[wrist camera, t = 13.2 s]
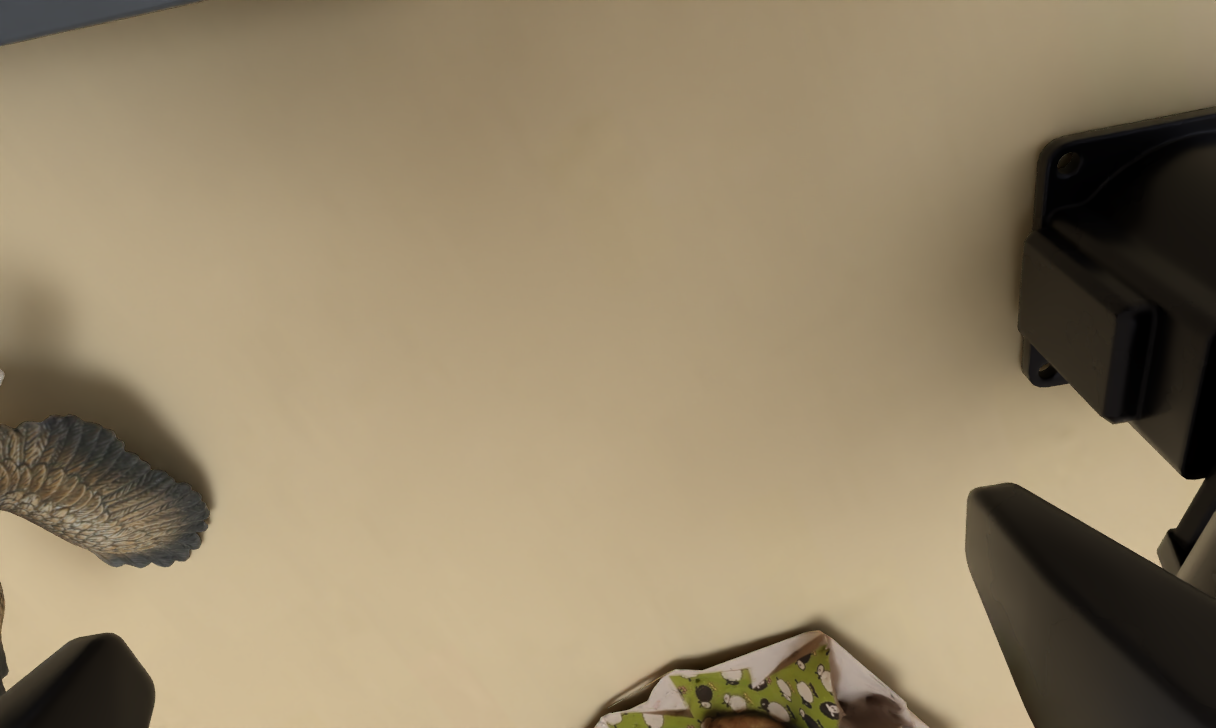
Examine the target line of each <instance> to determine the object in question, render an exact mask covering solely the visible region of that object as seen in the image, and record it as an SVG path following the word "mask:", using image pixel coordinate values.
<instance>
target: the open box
mask: <svg viewBox="0 0 1216 728" xmlns="http://www.w3.org/2000/svg"><path fill="white" fill-rule="evenodd" d="M202 1H207V0H0V46H4V45H9V44H13V43H18V42H22V41H27V40H31V39H36V38H40V37H45V36H49V35H54V34H58V33H63V32H67V31H72V30H76V29H81V28H85V27H90V26H94V25H99V24H103V23H108V22H112V21H117V20H121V19H126V18H130V17H135V16H139V15H144V14H148V13H153V12H157V11H162V10H166V9H171V8H175V7H180V6H184V5H189V4H193V3H198V2H202Z"/></svg>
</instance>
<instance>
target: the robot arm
mask: <svg viewBox="0 0 1216 728" xmlns="http://www.w3.org/2000/svg"><path fill="white" fill-rule="evenodd" d="M1070 152H1071V154H1072V157H1071V160H1070V162H1069V163H1068V164H1067V165H1066V166H1065V167H1063V168H1061V169H1058V167H1057V165H1058V163H1059V160H1060V159H1061V158H1062V157H1063V156H1064V155H1065V154H1068V153H1070ZM1018 330H1019V332H1020V333H1021V334H1022V335H1023V336H1024V340H1023V353H1022V366H1021V367H1022V372H1023V374H1024V375H1025V376H1026V377H1027V378H1028V379H1029V381H1030V382H1031V383H1032V384H1033V385H1035V386H1037V387H1051V386H1057V385H1063V384H1070V385H1071V386H1072V387H1073V388H1074V389H1075V390H1076V391H1077V392H1078V393H1079V394H1080V395H1081V396H1082V397H1083V398H1084V399H1085V400H1086V402H1087V403H1088V404H1089V405H1090V406H1091V407H1092V408H1093V409H1094V410H1095V411H1096V412H1097V413H1098V414H1099V415H1100V416H1101V417H1103V418H1104V419H1106V420H1107V421H1108V422H1110V423H1112V424H1118V423H1124V422H1128V423H1129V424H1130V425H1131V426H1132V427H1133V428H1134V429H1135V430H1136V431H1137V432H1138V433H1139V434H1140V435H1141V436H1142V437H1143V438H1144V439H1145V440H1146V441H1147V442H1148V443H1149V444H1150V445H1151V446H1152V447H1153V448H1154V449H1155V450H1156V451H1157V452H1158V453H1159V454H1160V455H1161V456H1162V457H1163V458H1164V459H1165V460H1166V461H1167V462H1168V463H1169V464H1170V465H1171V466H1172V467H1173V468H1174V469H1175V470H1176V471H1177V472H1178V473H1179V474H1180V475H1181V476H1183V477H1184V478H1185V479H1190V480H1196V479H1202V478H1205V480H1204V482H1203V483H1202V485H1201V487H1200V489H1199V490H1198V492H1197V494H1196V495H1195V497H1194V499H1193V501H1192V502H1191V504H1190V506H1189V507H1188V509H1187V511H1186V513H1185V514H1184V516H1183V518H1182V519H1181V521H1180V523H1179V525H1178V526H1177V528H1174V529H1170V530H1168V532H1167V533H1166V535H1165V537H1164V539H1163V540H1162V542H1161V544H1160V545H1159V547H1158V549H1157V554H1158V557H1159V560H1160V562H1161V565H1162V568H1161V567H1159V566H1157V565H1156V564H1154V563H1152V562H1151V561H1149V560H1147V559H1145V558H1144V557H1142V556H1140V555H1138V554H1137V553H1135V552H1133V551H1132V550H1130V549H1128V548H1126V547H1125V546H1123V545H1121V544H1119V543H1118V542H1116V541H1114V540H1113V539H1111V538H1109V537H1107V536H1106V535H1104V534H1102V533H1100V532H1099V531H1097V530H1095V529H1094V528H1092V527H1090V526H1088V525H1087V524H1085V523H1083V522H1081V521H1080V520H1078V519H1076V518H1075V517H1073V516H1071V515H1069V514H1068V513H1066V512H1064V511H1063V510H1061V509H1059V508H1057V507H1056V506H1054V505H1052V504H1050V503H1049V502H1047V501H1045V500H1044V499H1042V498H1040V497H1038V496H1037V495H1035V494H1033V493H1031V492H1030V491H1028V490H1026V489H1025V488H1023V487H1021V486H1019V485H1017V484H1014V483H1001V484H995V485H989V486H983V487H977V488H975V489H973V490H972V491H971V492H970V493H969V496H968V499H967V516H966V540H965V552H966V559H967V564H968V567H969V570H970V573H971V576H972V578H973V581H974V583H975V586H976V588H977V590H978V593H979V595H980V598H981V600H982V603H983V605H984V608H985V610H986V613H987V615H988V618H989V620H990V623H991V625H992V628H993V630H994V633H995V635H996V637H997V640H998V642H999V645H1000V647H1001V650H1002V652H1003V655H1004V657H1005V660H1006V662H1007V665H1008V667H1009V670H1010V672H1011V675H1012V677H1013V680H1014V682H1015V685H1016V687H1017V689H1018V692H1019V694H1020V696H1021V699H1022V701H1023V703H1024V706H1025V708H1026V710H1027V713H1028V715H1029V717H1030V719H1031V721H1032V723H1033V725H1034V727H1035V728H1216V107H1211V108H1206V109H1201V110H1196V111H1191V112H1186V113H1181V114H1176V115H1170V116H1165V117H1160V118H1155V119H1150V120H1145V121H1140V122H1134V123H1129V124H1124V125H1119V126H1114V127H1109V128H1104V129H1098V130H1093V131H1088V132H1083V133H1078V134H1073V135H1068V136H1062V137H1060V138H1057V139H1054V140H1053V141H1051V142H1050V143H1049V144H1047V145H1046V146H1045V147H1044V149H1043V150H1042V152H1041V153H1040V156H1039V159H1038V164H1037V176H1036V189H1035V201H1034V214H1033V227H1032V232H1031V233H1030V234H1029V235H1028V237H1027V238H1026V240H1025V241H1024V247H1023V260H1022V274H1021V287H1020V301H1019V314H1018ZM1047 363H1050V366H1049V367H1048V368H1046V369H1045V370H1043V371H1039V370H1040V368H1041V367H1042V366H1043V365H1044V364H1047ZM154 703H155V688H154V684H153V681H152V679H151V677H150V676H149V674H148V673H147V672H146V670H145V669H144V667H143V666H142V665H141V663H140V662H139V661H138V659H137V658H136V657H135V655H134V654H133V653H132V651H131V650H130V648H129V647H128V646H127V644H126V643H125V642H124V640H123V639H122V638H121V637H119V636H118V635H116V634H114V633H102V634H96V635H90V636H84V637H79V638H76V639H73V640H71V641H69V642H68V643H67V644H65V645H64V646H63V647H61V648H60V649H59V650H58V651H56V652H55V653H54V654H53V655H51V656H50V657H49V658H48V659H46V660H45V661H44V662H43V663H41V664H40V665H39V666H38V667H36V668H35V669H34V670H33V671H31V672H30V673H29V674H28V675H26V676H25V677H24V678H23V679H21V680H20V681H19V682H18V683H17V684H15V685H14V686H13V687H12V688H10V689H9V690H8V691H7V692H5V693H4V694H3V695H2V696H0V728H149V724H150V720H151V716H152V712H153V708H154Z"/></svg>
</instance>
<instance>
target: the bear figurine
mask: <svg viewBox="0 0 1216 728" xmlns="http://www.w3.org/2000/svg"><path fill="white" fill-rule="evenodd" d="M668 673H669V674H668ZM668 673H666V674H667V675H666V674H664V675H662V676H661V677H662V678H661V677H659V678H661V680H660V681H659V682H658V684H657V685H656V686H655V687H654V689H653V691H652V693H651V695H650V697H649V699H648V701H646V702H644V703H642V704H640V705H638V706H636V707H634V708H632V709H630V710H625V711H620V712H615V713H613V714H612V713H609V714H606V715H605V716H603V717H600V721H599V722H598V723H597V725H596V726H595V727H594V728H929V727H928V726H927V725H926V724H925V723H924V722H923V721H922V720H920V719H919V718H918V717H917V716H916V715H914V714H913V713H912V712H911V711H910V710H909V709H908V708H907V706H906V704H907V702H905V701H904V700H903V699H902V698H901V697H900V696H898V695H897V694H896V693H895V692H894V691H893V690H891V689H890V688H889V687H888V686H887V685H886V684H885V683H883V682H882V681H881V680H880V679H879V678H878V677H876V676H875V675H874V674H873V673H872V672H871V671H869V670H868V669H867V668H866V667H865V666H864V665H862V664H861V663H860V662H859V661H858V660H857V659H855V658H854V657H853V656H852V655H851V654H850V653H849V652H847V651H846V650H845V649H844V648H843V647H842V646H840V645H839V644H838V643H837V642H836V641H835V640H833V639H832V638H831V637H829V636H828V635H826V634H824V633H823V632H821V631H820V630H817V631H810V632H804V633H803V634H800V635H797V636H795V637H792V638H789V639H786V640H784V641H781V642H778V643H775V644H773V645H770V646H767V647H765V648H762V649H759V650H756V651H754V652H751V653H748V654H746V655H743V656H740V657H737V658H735V659H732V660H729V661H726V662H724V663H721V664H718V665H716V666H713V667H710V668H707V669H705V670H684V669H675V670H674V671H673V670H672V671H670V672H668ZM665 675H666V676H665ZM663 676H664V677H663ZM659 678H657V679H659ZM657 679H656V680H657ZM656 680H654V681H656ZM654 681H652V682H654ZM652 682H651V683H652ZM649 684H650V683H649ZM649 684H648V685H649ZM646 686H647V685H646ZM644 687H645V686H644ZM641 689H642V688H641ZM639 690H640V689H639ZM634 693H635V692H634ZM632 694H633V693H632ZM629 696H630V695H629ZM627 697H628V696H627ZM624 699H625V698H624ZM622 700H623V699H622ZM620 701H621V700H620ZM620 701H619V702H620ZM617 703H618V702H617ZM615 704H616V703H615ZM615 704H613V705H615ZM613 705H612V706H613ZM612 706H610V707H612ZM610 707H608V708H610Z"/></svg>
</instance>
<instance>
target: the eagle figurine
mask: <svg viewBox="0 0 1216 728" xmlns="http://www.w3.org/2000/svg"><path fill="white" fill-rule="evenodd" d="M3 379H4V372H3V371H2V370H1V369H0V386H1V384H2V381H3ZM124 447H125V444H124V442H123V441H122V440H119V439H118V438H116V434H115V432H114V431H113V430H110V429H106V428H103V427H102V426H101V425H99V424H96V423H91V422H84V421H83V420H81V419H80V418H79V417H77V416H75V415H70V414H69V415H67V416H64V417H62V416H60V415H50V416H49V417H48V418H46V419H45V420H44V421H42V422H34V421H27V422H23V423H21V424H20V425H19V426H18V427H17V428H15V429H14V428H11V427H9V426H7V425H4V424H0V510H3V511H8V512H11V513H13V514H15V515H17V516H20V517H22V518H24V519H26V520H28V521H30V522H32V523H34V524H36V525H38V526H40V527H42V528H44V529H46V530H47V531H49V532H51V533H53V534H55V535H56V536H58V537H60V538H62V539H64V540H66V541H68V542H70V543H72V544H74V545H77V546H80V547H82V548H85V549H88V550H89V551H91V552H93V553H94V554H95V555H96V556H97V557H98V558H100V559H101V560H102V561H104V562H105V563H107V564H108V565H110V566H113V567H119V566H122V565H124V564H128V565H132V566H135V567H138V568H143V567H146V566H147V565H149V564H150V563H151V562H152V563H154V564H156V565H158V566H162V567H169V566H171V565H172V564H173V562H174V561H175V560H177V561H186V560H187V559H188V558H189V557H190V552H189V551H190V550H195V549H198V548H199V547H200V546H201V539H200V537H199V535H198V534H197V533H196V532H202V531H205V530H206V529H207V528H208V525H207V524H206V523H205V521H204V519H207V518H208V517H209V515H210V511H209V510H208V508H207V505H206V503H205V502H203V501H201V499H202V496H201V494H199V493H198V492H196V491H193V490H192V486H191V485H190V484H188V483H186V482H181V483H177V482H175V480H174V478H172V477H171V476H169V475H168V474H167V472H165V471H162V470H151V466H150V465H149V464H148V463H147V462H146V461H141V460H140V458H139V456H138V455H136V454H135V453H132V452H126V451H125V450H124ZM4 611H5V600H4V595H3V590H2V586H1V583H0V696H2V695H3V694H4V693H5V692H6V691H5V688H4V686H3V683H2V679H3V678H4V677H5V676H6V675H7V674H8V672H9V670H8V667H7V663H6V657H5V653H4V650H3V645H2V641H1V629H2V623H3V618H4Z"/></svg>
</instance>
